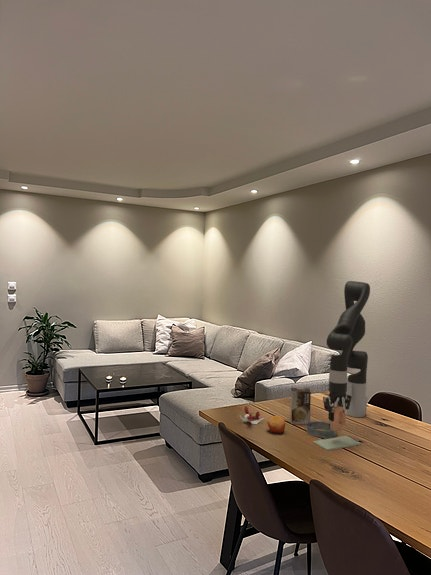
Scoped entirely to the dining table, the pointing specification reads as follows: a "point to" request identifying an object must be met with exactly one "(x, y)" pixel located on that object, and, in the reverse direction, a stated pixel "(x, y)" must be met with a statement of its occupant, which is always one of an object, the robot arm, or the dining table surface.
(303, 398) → the coffee box
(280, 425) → the fruit
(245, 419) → the figurine
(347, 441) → the mat
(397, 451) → the dining table surface
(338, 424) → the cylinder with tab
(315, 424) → the holder
